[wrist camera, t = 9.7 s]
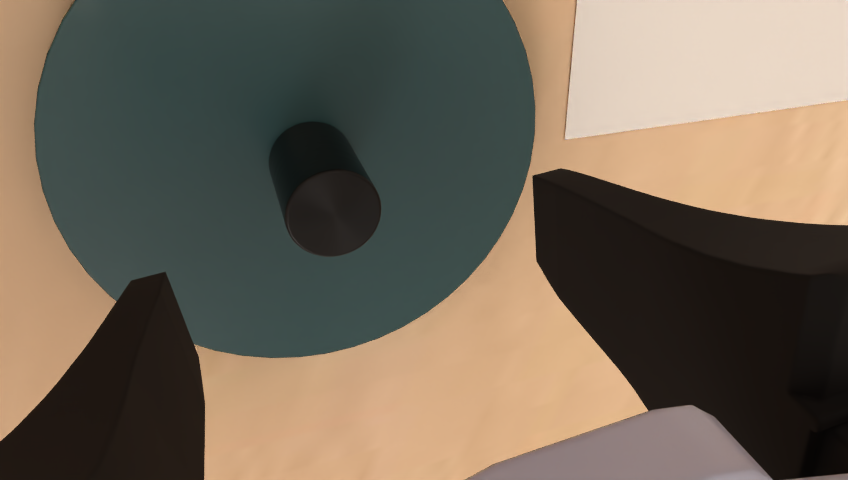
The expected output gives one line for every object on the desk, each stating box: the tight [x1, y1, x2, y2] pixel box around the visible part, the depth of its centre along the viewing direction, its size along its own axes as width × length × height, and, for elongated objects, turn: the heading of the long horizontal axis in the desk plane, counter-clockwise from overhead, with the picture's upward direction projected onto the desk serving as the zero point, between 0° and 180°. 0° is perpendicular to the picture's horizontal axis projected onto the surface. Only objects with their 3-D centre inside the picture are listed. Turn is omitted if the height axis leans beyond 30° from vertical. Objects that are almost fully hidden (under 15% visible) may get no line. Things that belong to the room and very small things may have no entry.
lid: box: [34, 0, 535, 358], centre depth 19 cm, size 14×14×5 cm
